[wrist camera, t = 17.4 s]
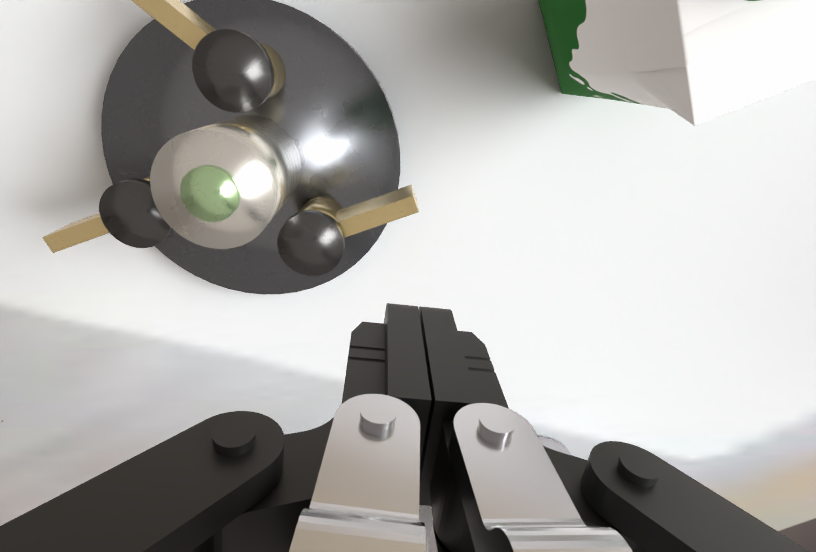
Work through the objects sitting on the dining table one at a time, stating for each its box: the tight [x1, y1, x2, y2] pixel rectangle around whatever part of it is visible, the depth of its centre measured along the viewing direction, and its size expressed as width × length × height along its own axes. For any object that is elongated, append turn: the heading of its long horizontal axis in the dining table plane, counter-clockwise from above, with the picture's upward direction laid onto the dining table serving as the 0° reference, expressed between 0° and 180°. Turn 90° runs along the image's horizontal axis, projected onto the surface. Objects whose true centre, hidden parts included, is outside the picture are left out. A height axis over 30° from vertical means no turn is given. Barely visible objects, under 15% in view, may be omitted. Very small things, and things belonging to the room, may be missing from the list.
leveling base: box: [102, 0, 400, 294], centre depth 32 cm, size 22×22×12 cm
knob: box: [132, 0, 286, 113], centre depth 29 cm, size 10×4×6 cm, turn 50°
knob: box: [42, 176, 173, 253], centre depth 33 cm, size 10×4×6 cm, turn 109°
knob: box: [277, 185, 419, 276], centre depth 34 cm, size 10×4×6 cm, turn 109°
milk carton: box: [539, 0, 816, 126], centre depth 25 cm, size 9×9×20 cm
